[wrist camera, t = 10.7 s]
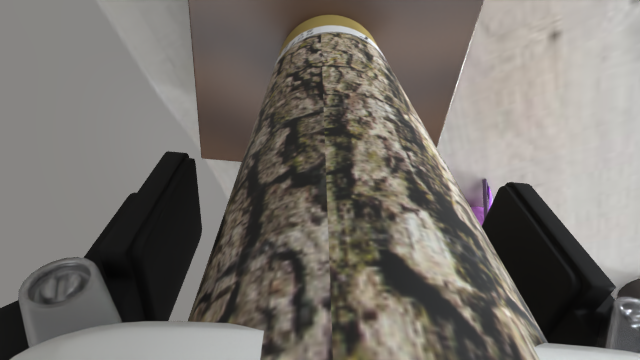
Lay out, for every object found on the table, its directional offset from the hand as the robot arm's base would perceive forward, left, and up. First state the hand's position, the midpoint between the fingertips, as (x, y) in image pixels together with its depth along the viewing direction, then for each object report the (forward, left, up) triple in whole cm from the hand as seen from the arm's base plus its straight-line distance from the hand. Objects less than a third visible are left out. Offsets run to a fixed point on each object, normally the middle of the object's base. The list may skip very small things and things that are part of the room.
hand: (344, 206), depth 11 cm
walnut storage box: (0, 0, -27) cm, 27 cm away
